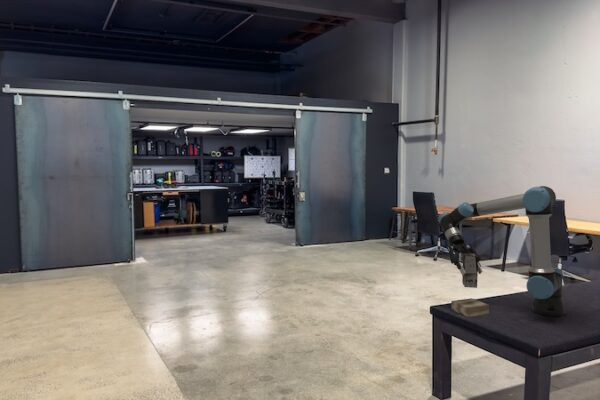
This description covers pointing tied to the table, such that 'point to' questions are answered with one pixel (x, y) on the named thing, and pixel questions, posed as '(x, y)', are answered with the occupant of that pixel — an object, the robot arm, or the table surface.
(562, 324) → the table surface
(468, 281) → the coffee box
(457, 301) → the birch block
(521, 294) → the table surface
